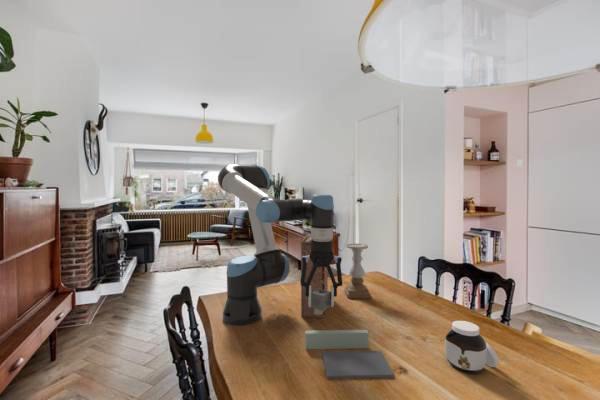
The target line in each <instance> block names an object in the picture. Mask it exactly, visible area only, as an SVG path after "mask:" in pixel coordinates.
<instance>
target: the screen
mask: <svg viewBox="0 0 600 400" xmlns="http://www.w3.org/2000/svg"><path fill="white" fill-rule="evenodd" d="M369 332H370V331H368V329H335V330H334V329H333V330H332V329H328V330H327V329H326V330H321V329H319V330H315V329H314V330H305V337H304V338H305V339H304V340H305V343H304V344H305V350H332V349H333V350H334V349H335V350H339V349H340V350H341V349H346V350H347V349H369V348H370V347H369V346H370V345H369V343H370V340H369V339H370V337H369V336H370V333H369Z"/></svg>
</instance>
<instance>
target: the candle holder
mask: <svg viewBox="0 0 600 400" xmlns="http://www.w3.org/2000/svg"><path fill="white" fill-rule="evenodd" d="M346 248H347V249H350V250H351V251H352V254H353V256H352V257H351V259H352V262H353V264H352V266H351V268H350V270H349V275H350V277H351V278H350V284H346V285H345V287H344V294H345V296H346V297H345V298H347V299H351V300H352V299H356V300H357V299H358V300H360V299H362V300H363V299H365V300H368V299H371V296H372V295H371V292H370V291H369V289H368V287H367V286H366V285H365V284H363V283H364V277H365V275H366V271H365V270H364V267H363V266H362V261H363V260H364V258H363V257H362V252H363V250H366V249H368V248H369V245H367V244H363V243H348V244H346Z"/></svg>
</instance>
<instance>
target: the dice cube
mask: <svg viewBox="0 0 600 400" xmlns="http://www.w3.org/2000/svg"><path fill="white" fill-rule="evenodd" d="M311 307H312V308H315V309H319V310H322V311H324V310H325V309H326V310H327V309H329V308H330V307H331V291H329V290H328V291H325V290H322V289H318V290H316V291H314V292H311ZM331 308H332V307H331ZM326 310H325V311H326Z"/></svg>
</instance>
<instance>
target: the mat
mask: <svg viewBox="0 0 600 400" xmlns="http://www.w3.org/2000/svg"><path fill="white" fill-rule="evenodd" d="M322 360H323V364H324V370H325V374H326V379H327V380H333V379H334V380H338V379H343V380H344V379H383V378H384V379H389V378H395V373H394V371H393V369H392V368H391V366H390V364H389V363H388V361H387V359H386V357H385V355H384V354H383V352H382V350H346V351H345V350H339V351H337V350H336V351H334V350H333V351H322Z"/></svg>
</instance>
